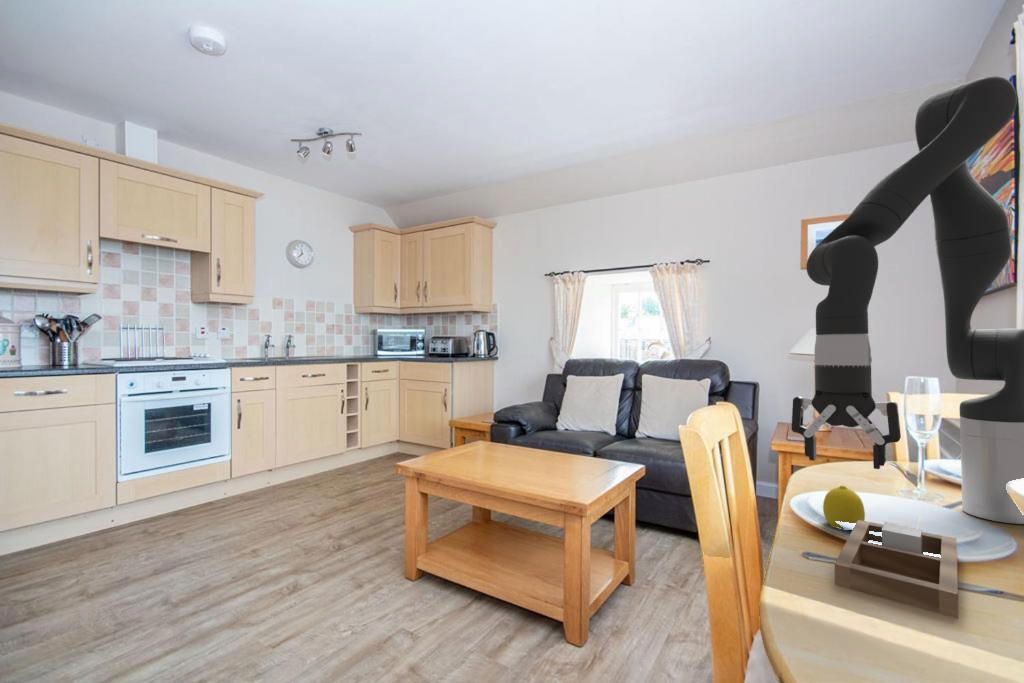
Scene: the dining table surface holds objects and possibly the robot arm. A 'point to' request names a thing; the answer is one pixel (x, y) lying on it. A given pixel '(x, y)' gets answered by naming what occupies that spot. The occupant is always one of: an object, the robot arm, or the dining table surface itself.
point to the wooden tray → (901, 570)
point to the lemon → (843, 506)
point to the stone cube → (902, 537)
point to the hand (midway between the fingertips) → (843, 464)
